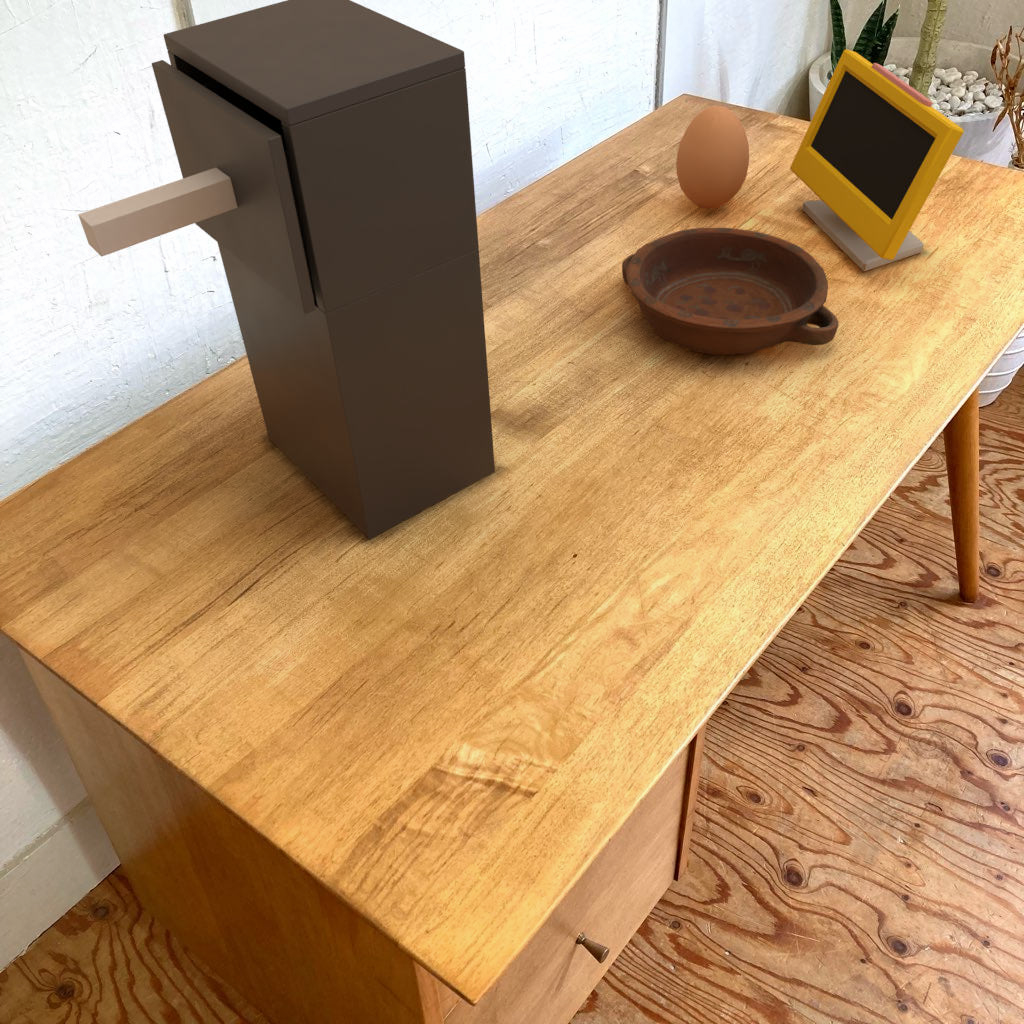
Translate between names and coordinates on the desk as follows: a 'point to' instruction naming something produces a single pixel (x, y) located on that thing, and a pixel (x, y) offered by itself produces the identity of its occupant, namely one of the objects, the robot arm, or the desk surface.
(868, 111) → the toy computer monitor
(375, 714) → the desk surface
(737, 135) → the egg
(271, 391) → the cabinet
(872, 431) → the desk surface
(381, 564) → the desk surface
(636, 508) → the desk surface
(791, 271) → the dish
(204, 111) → the drawer
